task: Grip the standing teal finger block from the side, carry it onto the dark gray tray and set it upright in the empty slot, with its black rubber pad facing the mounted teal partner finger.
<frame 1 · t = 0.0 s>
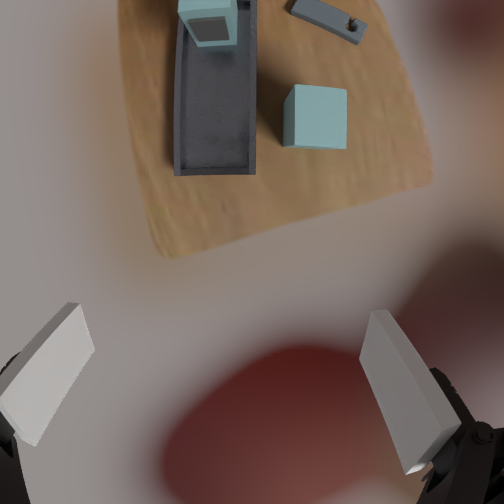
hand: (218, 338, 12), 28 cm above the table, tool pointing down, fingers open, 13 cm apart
finger: (302, 125, 34), on the table
partner finger: (217, 27, 28), resting on dark gray tray
bracket: (327, 21, 29), on the table
dark gray tray: (217, 81, 32), on the table
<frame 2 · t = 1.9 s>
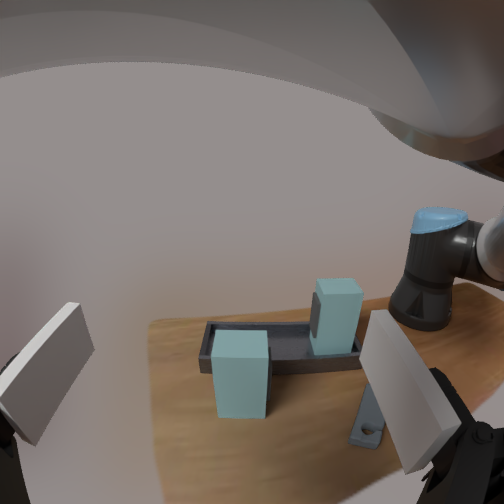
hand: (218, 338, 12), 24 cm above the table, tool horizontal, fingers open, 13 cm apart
finger: (242, 404, 34), on the table
partner finger: (329, 344, 44), resting on dark gray tray
bracket: (369, 419, 31), on the table
dark gray tray: (281, 353, 45), on the table
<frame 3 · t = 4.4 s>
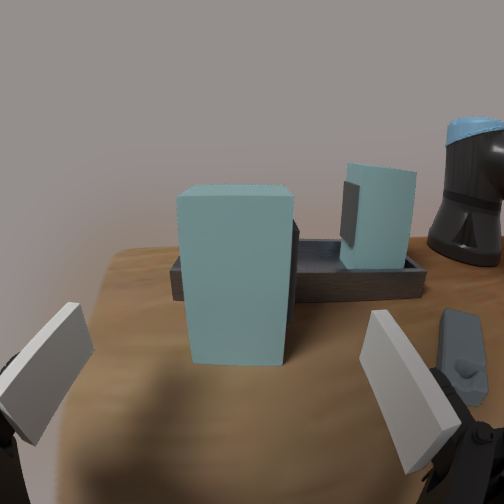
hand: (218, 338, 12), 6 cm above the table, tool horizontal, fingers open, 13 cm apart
finger: (238, 342, 20), on the table
partner finger: (370, 266, 30), resting on dark gray tray
bracket: (455, 363, 17), on the table
dark gray tray: (299, 279, 31), on the table
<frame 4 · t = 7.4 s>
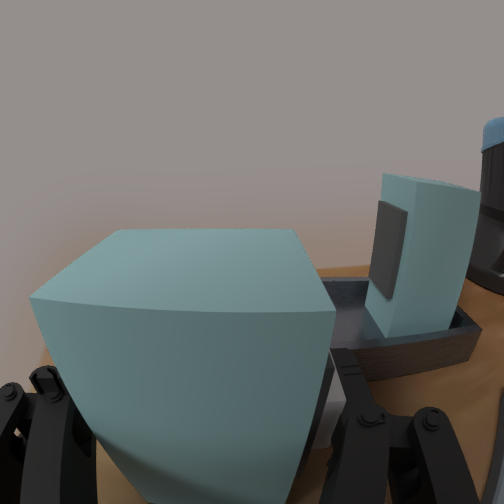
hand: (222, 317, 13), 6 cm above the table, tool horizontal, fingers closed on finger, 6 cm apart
finger: (216, 469, 11), on the table, touching gripper
partner finger: (406, 318, 20), resting on dark gray tray
dark gray tray: (311, 340, 21), on the table
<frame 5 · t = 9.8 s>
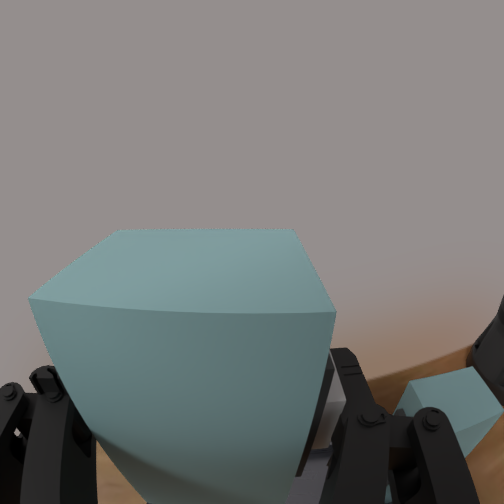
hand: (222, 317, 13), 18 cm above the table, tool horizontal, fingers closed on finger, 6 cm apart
finger: (215, 469, 11), point 12 cm above the table, touching gripper
partner finger: (399, 476, 16), resting on dark gray tray
dark gray tray: (308, 498, 17), on the table
when the fingers open (8 cm above the table, at t = 12.6 s): finger stays where it is, resting on dark gray tray.
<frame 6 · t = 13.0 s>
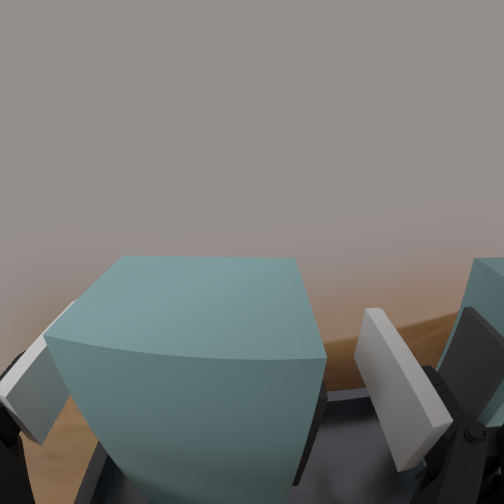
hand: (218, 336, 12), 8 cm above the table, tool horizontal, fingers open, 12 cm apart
finger: (218, 476, 11), point 1 cm above the table, touching dark gray tray
partner finger: (455, 438, 11), resting on dark gray tray
dark gray tray: (332, 481, 11), on the table
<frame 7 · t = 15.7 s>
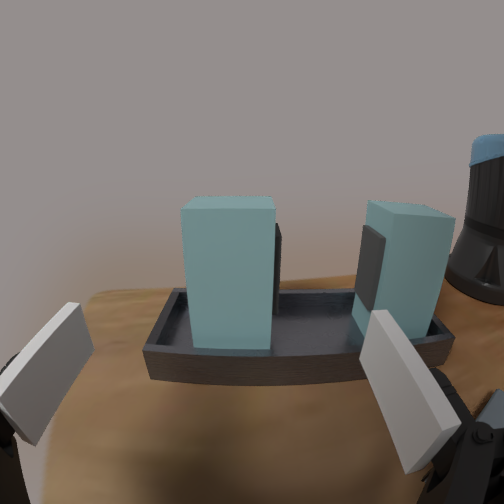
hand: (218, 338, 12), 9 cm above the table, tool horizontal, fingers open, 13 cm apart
finger: (233, 331, 24), point 1 cm above the table, touching dark gray tray
partner finger: (387, 326, 24), resting on dark gray tray
bracket: (476, 452, 11), on the table
dark gray tray: (304, 344, 24), on the table
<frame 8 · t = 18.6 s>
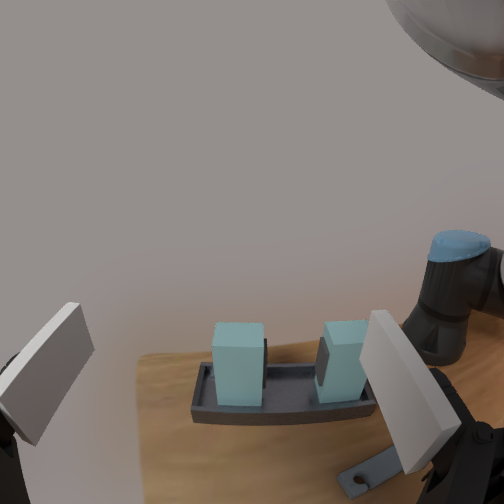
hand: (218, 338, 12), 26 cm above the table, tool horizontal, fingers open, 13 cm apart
finger: (240, 393, 38), point 1 cm above the table, touching dark gray tray
partner finger: (336, 389, 38), resting on dark gray tray
bracket: (376, 473, 24), on the table
dark gray tray: (282, 399, 38), on the table
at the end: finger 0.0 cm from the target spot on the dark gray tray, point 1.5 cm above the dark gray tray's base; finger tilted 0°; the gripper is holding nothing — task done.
